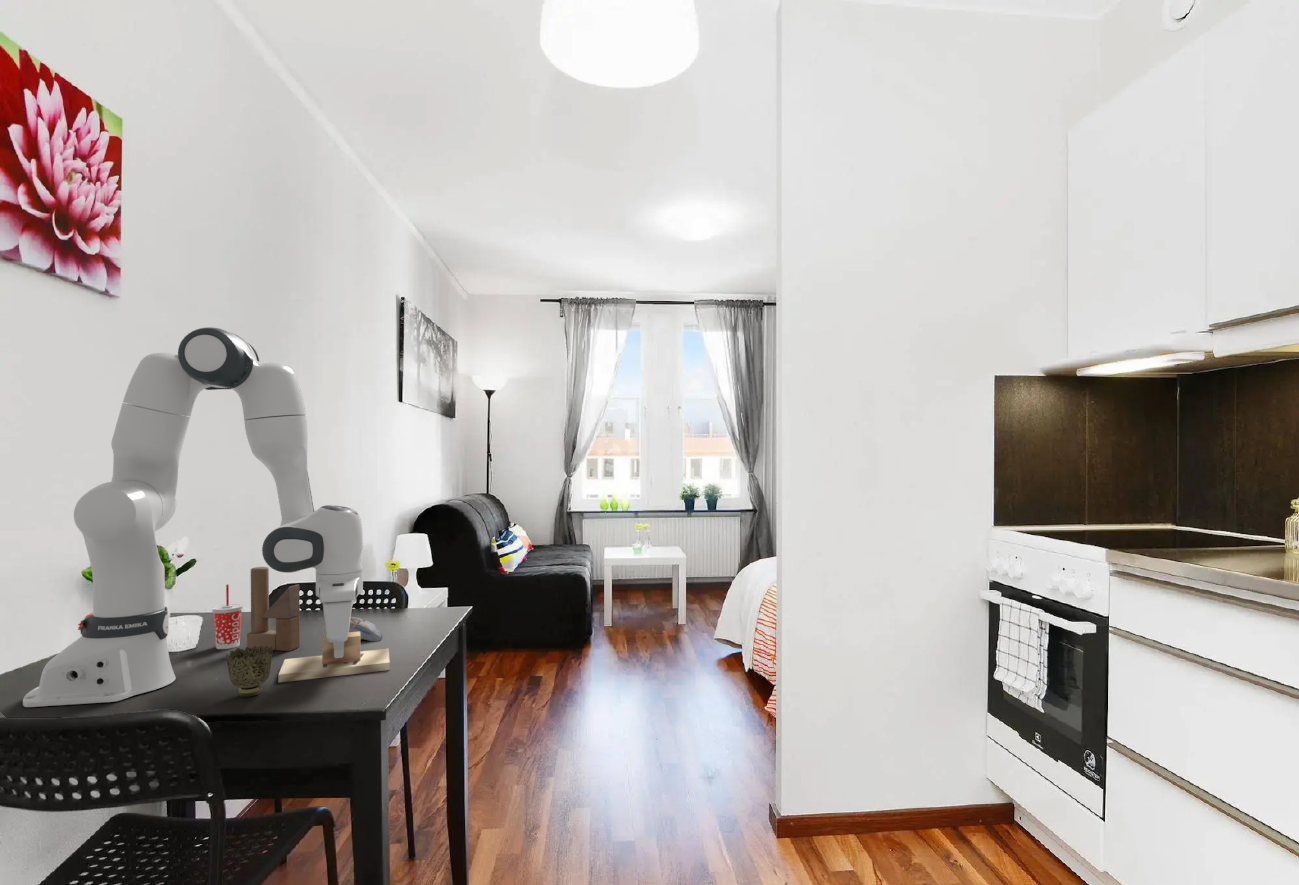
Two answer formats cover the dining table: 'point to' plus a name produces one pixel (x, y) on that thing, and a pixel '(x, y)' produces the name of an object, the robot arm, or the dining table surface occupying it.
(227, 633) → the beverage cup
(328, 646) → the block
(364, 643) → the dining table surface
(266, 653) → the cup
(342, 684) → the dining table surface
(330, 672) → the board
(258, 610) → the stacked wooden blocks
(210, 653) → the dining table surface
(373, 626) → the stone
